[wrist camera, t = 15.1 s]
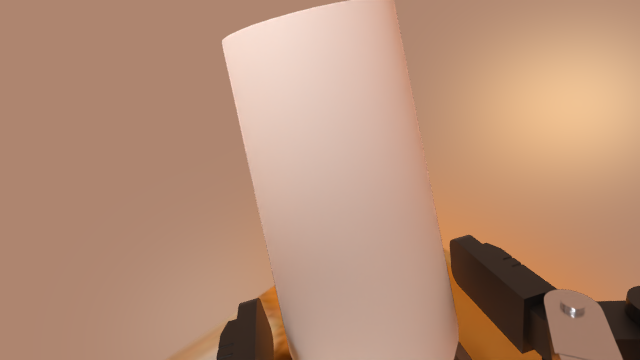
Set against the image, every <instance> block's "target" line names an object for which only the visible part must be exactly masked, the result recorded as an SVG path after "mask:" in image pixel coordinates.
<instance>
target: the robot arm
mask: <svg viewBox="0 0 640 360" xmlns="http://www.w3.org/2000/svg"><path fill="white" fill-rule="evenodd" d="M450 255H451V268H452V274H453V276H454V279H455V281H456V282H457V284H458V285H459V286H460V287H461V288H462V290H463V291H464V292H465V293H466V294H467V295H468V296H469V297H470V298H471V299H472V300H473V301H474V302H475V304H476V305H477V306H478V307H479V308H480V309H481V310H482V311H483V312H484V313H485V314H486V315H487V316H488V317H489V319H490V320H491V321H492V322H493V323H494V324H495V325H496V326H497V327H498V328H499V329H500V330H501V331H502V332H503V334H504V335H505V336H506V337H507V338H508V339H509V340H510V341H511V342H512V343H513V344H514V345H515V346H516V347H517V349H518V350H519V351H520V352H521V353H522V354H523V353H526V352H528V351H531V350H534V349H535V350H536V351H537V352H538V353H539V354H540V360H640V286H637V287H633V288H631V289H629V291H628V293H627V298H626V301H601V302H596V301H594V300H593V299H591V298H590V297H588V296H586V295H584V294H581V293H578V292H575V291H572V290H563V289H561V290H560V289H556V288H555V287H553V286H552V285H551V284H549V283H548V282H546V281H545V280H544V279H542V278H541V277H540V276H538V275H537V274H535V273H534V272H533V271H531V270H530V269H528V268H527V267H526V266H524V265H521V263H520V262H519V261H517V260H516V259H515V258H512V257H511V256H510V255H509V254H508V253H506V252H505V251H504V250H502V249H501V248H498V247H496V246H493V245H491V244H488V243H484V244H482V243H480V242H479V241H478V240H476V239H475V238H473V237H472V236H471V235H466V236H463V237H459V238H456V239H453V240H451V241H450ZM218 348H219V350H218V353H217V360H274V346H273V336H272V331H271V328H270V325H269V322H268V319H267V317H266V314H265V311H264V309H263V306H262V304H261V301H260V299H259V298H256V299H253V300H250V301H247V302H243V303H240V304H239V307H238V316H237V319H235V320H232V321H229V322H228V323H227V325H226V326H225V328H224V330H223V332H222V333H221V336H220V341H219V347H218Z"/></svg>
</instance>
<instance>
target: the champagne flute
mask: <svg viewBox="0 0 640 360" xmlns="http://www.w3.org/2000/svg"><path fill="white" fill-rule="evenodd" d="M222 46H223V50H224V55H225V60H226V64H227V69H228V73H229V78H230V82H231V87H232V91H233V96H234V101H235V105H236V110H237V114H238V118H239V123H240V128H241V132H242V137H243V141H244V146H245V150H246V155H247V160H248V164H249V168H250V173H251V178H252V182H253V187H254V191H255V196H256V201H257V205H258V209H259V214H260V219H261V223H262V227H263V232H264V237H265V242H266V246H267V251H268V255H269V260H270V264H271V269H272V274H273V278H274V283H275V287H276V292H277V296H278V301H279V305H280V310H281V315H282V319H283V324H284V328H285V333H286V337H287V342H288V346H289V351H290V354H291V357H292V359H293V360H454V357H455V353H456V349H457V345H458V341H459V335H458V321H457V316H456V311H455V306H454V300H453V295H452V290H451V285H450V280H449V275H448V270H447V265H446V260H445V255H444V250H443V245H442V240H441V235H440V230H439V225H438V220H437V215H436V210H435V205H434V200H433V195H432V190H431V185H430V180H429V175H428V170H427V164H426V159H425V154H424V149H423V144H422V140H421V134H420V130H419V124H418V119H417V114H416V109H415V104H414V100H413V94H412V89H411V84H410V79H409V74H408V69H407V64H406V59H405V54H404V49H403V44H402V39H401V33H400V28H399V23H398V18H397V13H396V9H395V3H394V0H350V1H344V2H338V3H333V4H328V5H323V6H319V7H314V8H310V9H306V10H302V11H298V12H295V13H290V14H287V15H283V16H280V17H276V18H273V19H269V20H266V21H263V22H261V23H257V24H254V25H252V26H249V27H247V28H244V29H241V30H239V31H237V32H235V33H233V34H231V35H229V36H227V37H226V38H224V39H223V41H222Z"/></svg>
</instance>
